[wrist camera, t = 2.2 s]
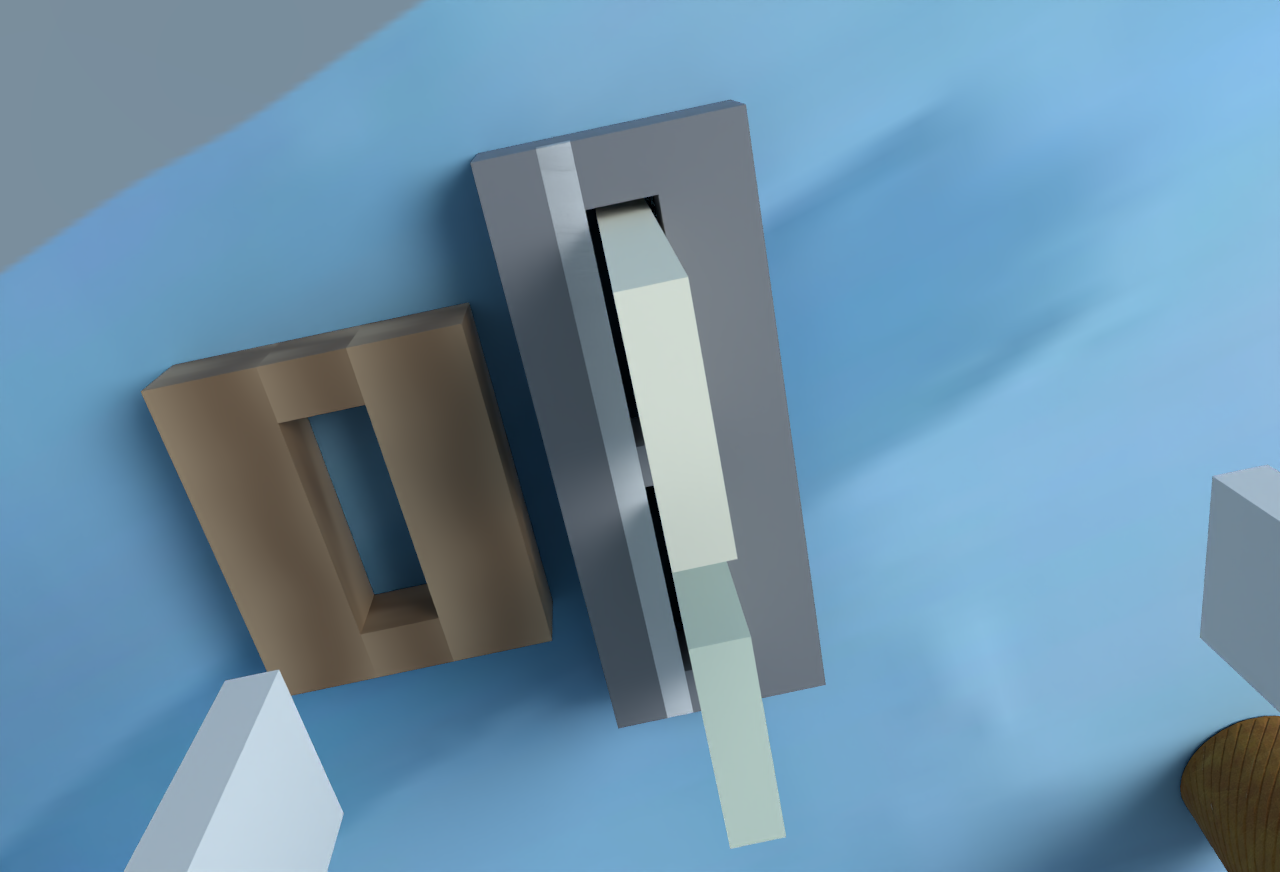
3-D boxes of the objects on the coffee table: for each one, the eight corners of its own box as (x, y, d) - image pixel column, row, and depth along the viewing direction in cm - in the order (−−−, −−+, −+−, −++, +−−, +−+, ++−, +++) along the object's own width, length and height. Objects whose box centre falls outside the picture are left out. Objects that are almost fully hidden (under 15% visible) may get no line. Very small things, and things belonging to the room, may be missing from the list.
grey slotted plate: (614, 685, 36) (618, 728, 34) (477, 153, 28) (470, 162, 26) (808, 644, 36) (825, 684, 34) (730, 99, 28) (745, 104, 26)
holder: (297, 654, 35) (279, 698, 32) (173, 365, 30) (140, 391, 27) (552, 601, 35) (551, 640, 32) (469, 302, 30) (461, 323, 27)
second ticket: (682, 620, 35) (730, 848, 25) (648, 463, 33) (688, 649, 23) (721, 612, 35) (786, 837, 25) (692, 454, 33) (750, 636, 23)
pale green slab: (636, 406, 32) (672, 572, 22) (594, 207, 29) (613, 292, 19) (681, 396, 32) (737, 558, 22) (643, 197, 29) (688, 276, 19)
